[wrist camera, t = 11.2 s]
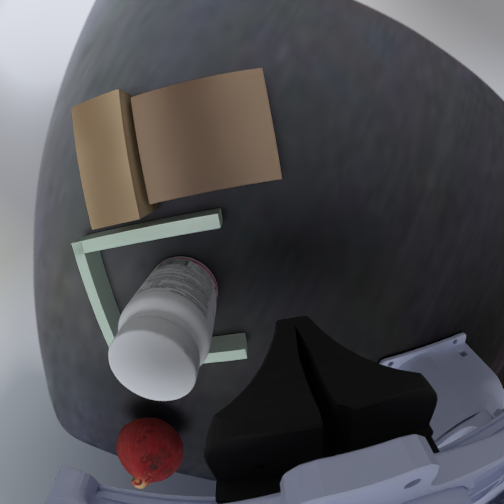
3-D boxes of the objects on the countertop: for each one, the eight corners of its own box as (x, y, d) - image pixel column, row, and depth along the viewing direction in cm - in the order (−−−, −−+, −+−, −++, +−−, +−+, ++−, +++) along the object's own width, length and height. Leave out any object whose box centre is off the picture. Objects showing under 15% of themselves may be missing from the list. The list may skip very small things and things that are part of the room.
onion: (152, 390, 22) (128, 463, 14) (201, 424, 23) (191, 496, 16) (118, 412, 23) (93, 474, 15) (163, 442, 24) (149, 504, 17)
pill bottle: (196, 331, 20) (175, 420, 12) (139, 295, 19) (87, 372, 11) (233, 280, 19) (226, 363, 11) (170, 240, 18) (120, 300, 10)
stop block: (140, 100, 15) (118, 88, 12) (158, 207, 17) (140, 219, 14) (99, 114, 15) (71, 107, 12) (117, 217, 17) (92, 229, 14)
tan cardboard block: (259, 82, 16) (262, 67, 13) (275, 176, 17) (282, 178, 15) (147, 106, 16) (130, 97, 13) (164, 197, 18) (149, 204, 15)
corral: (220, 207, 18) (217, 213, 16) (246, 341, 20) (247, 358, 18) (85, 235, 18) (71, 243, 16) (126, 352, 21) (118, 367, 19)
